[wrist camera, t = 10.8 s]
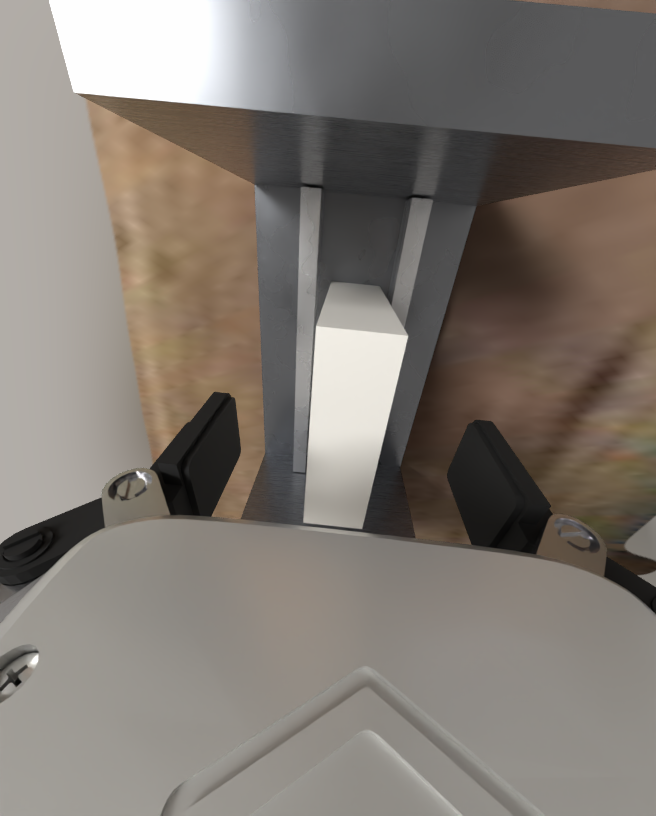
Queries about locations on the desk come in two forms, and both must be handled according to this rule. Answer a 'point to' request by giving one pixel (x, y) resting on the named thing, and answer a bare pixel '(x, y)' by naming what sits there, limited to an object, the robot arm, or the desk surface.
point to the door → (350, 401)
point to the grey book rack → (369, 157)
